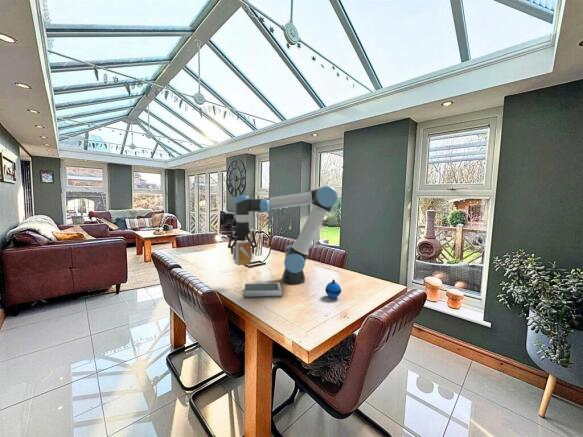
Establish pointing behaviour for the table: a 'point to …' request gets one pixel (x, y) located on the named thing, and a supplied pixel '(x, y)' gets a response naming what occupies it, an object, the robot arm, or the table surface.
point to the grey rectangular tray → (262, 290)
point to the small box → (242, 253)
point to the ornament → (333, 289)
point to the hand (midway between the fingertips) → (242, 259)
